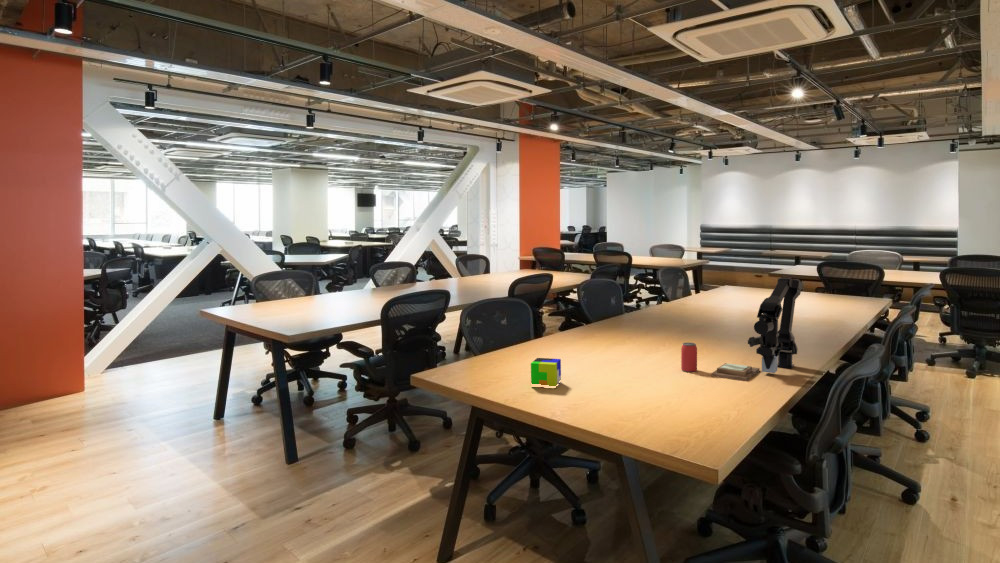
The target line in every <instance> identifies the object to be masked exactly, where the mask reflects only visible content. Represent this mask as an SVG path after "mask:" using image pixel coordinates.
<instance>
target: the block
mask: <svg viewBox="0 0 1000 563" xmlns="http://www.w3.org/2000/svg"><path fill="white" fill-rule="evenodd" d="M777 366H778V356H777V357H774V359H773V361H772V364H771V366H770V369H767V368H766V365H765V361H764V358H763V356H761V372H763V373H771V374H776V372H778V367H777Z"/></svg>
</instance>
